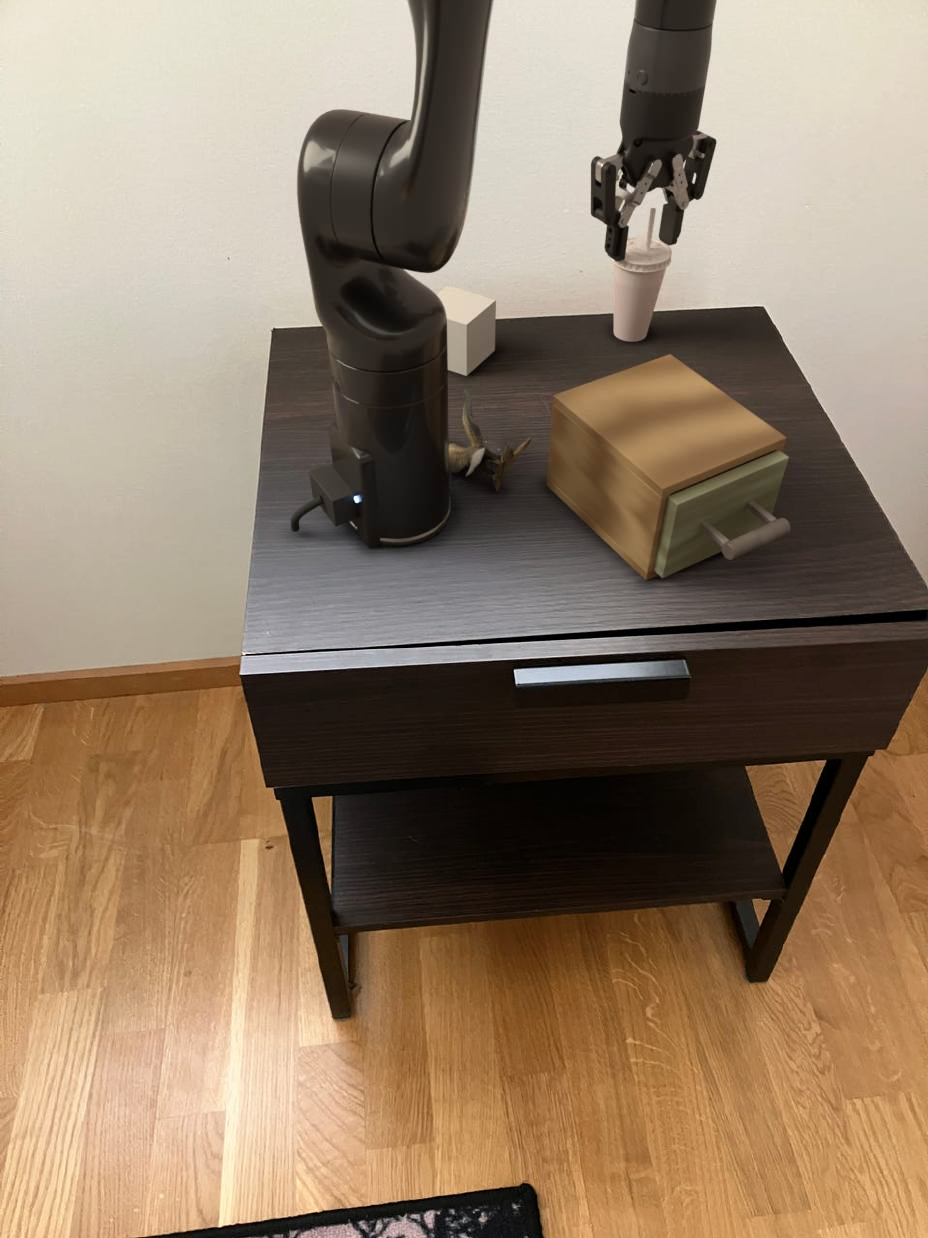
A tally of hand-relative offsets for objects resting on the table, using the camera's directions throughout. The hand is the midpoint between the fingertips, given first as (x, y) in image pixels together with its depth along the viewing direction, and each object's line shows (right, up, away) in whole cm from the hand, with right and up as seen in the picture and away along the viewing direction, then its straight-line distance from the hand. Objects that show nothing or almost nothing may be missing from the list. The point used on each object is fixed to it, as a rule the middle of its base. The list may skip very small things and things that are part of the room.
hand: (641, 249), depth 101 cm
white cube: (-19, -10, +4) cm, 22 cm away
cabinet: (-2, -29, -14) cm, 32 cm away
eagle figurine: (-18, -25, -10) cm, 32 cm away
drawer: (0, -30, -17) cm, 35 cm away
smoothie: (0, -7, +7) cm, 10 cm away
